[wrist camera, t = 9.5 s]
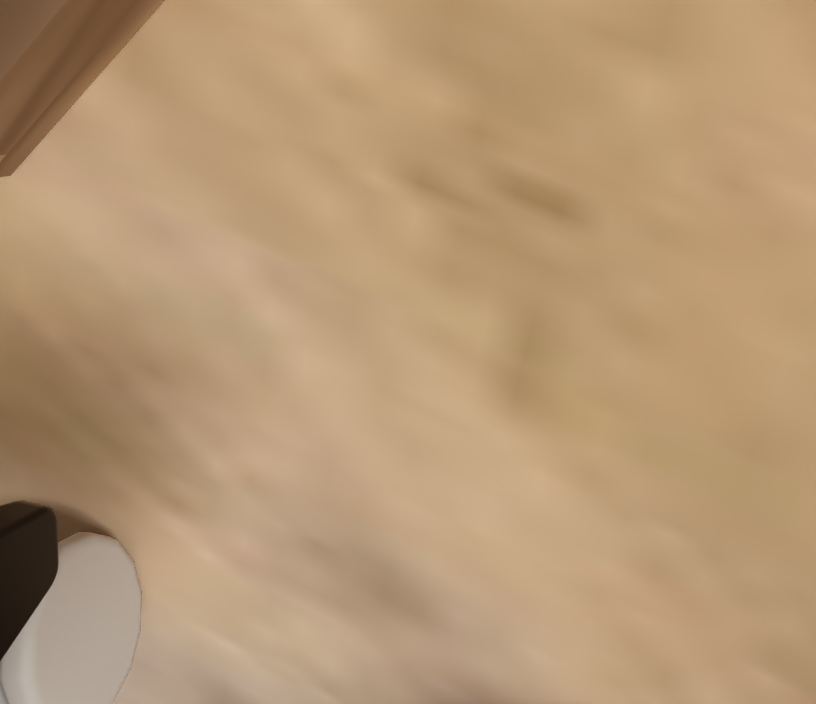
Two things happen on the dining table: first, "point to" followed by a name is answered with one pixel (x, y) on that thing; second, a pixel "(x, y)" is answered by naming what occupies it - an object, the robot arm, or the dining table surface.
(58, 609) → the pony
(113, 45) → the square wooden tray
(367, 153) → the dining table surface
